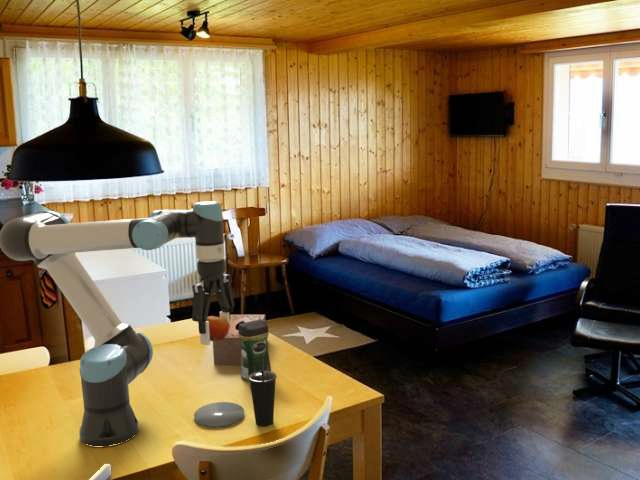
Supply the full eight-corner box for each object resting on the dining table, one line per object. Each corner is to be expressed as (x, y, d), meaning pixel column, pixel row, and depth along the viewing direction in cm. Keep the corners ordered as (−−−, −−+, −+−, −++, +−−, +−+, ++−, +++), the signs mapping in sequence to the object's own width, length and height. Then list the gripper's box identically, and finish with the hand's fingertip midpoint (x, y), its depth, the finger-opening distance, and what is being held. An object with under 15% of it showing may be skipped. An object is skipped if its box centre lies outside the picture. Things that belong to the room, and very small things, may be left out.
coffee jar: (262, 368, 224) (260, 315, 220) (274, 376, 217) (272, 321, 214) (236, 375, 219) (234, 321, 215) (248, 383, 212) (245, 327, 209)
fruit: (191, 341, 180) (197, 312, 183) (204, 346, 188) (209, 318, 190) (219, 343, 178) (224, 314, 181) (230, 349, 185) (235, 320, 188)
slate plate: (223, 432, 180) (223, 428, 180) (183, 421, 187) (183, 417, 187) (254, 411, 192) (253, 407, 192) (215, 402, 199) (215, 398, 199)
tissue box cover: (256, 365, 228) (254, 337, 226) (214, 365, 229) (212, 337, 227) (266, 339, 253) (265, 314, 251) (228, 340, 254) (227, 314, 252)
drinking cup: (264, 414, 190) (261, 347, 186) (284, 421, 185) (281, 353, 182) (244, 424, 184) (241, 355, 181) (264, 432, 180) (261, 361, 176)
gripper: (196, 268, 170) (201, 353, 174) (245, 252, 188) (248, 330, 192) (173, 265, 174) (179, 349, 178) (223, 250, 191) (228, 326, 196)
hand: (215, 339), depth 185 cm, fingers closed on fruit, 8 cm apart
